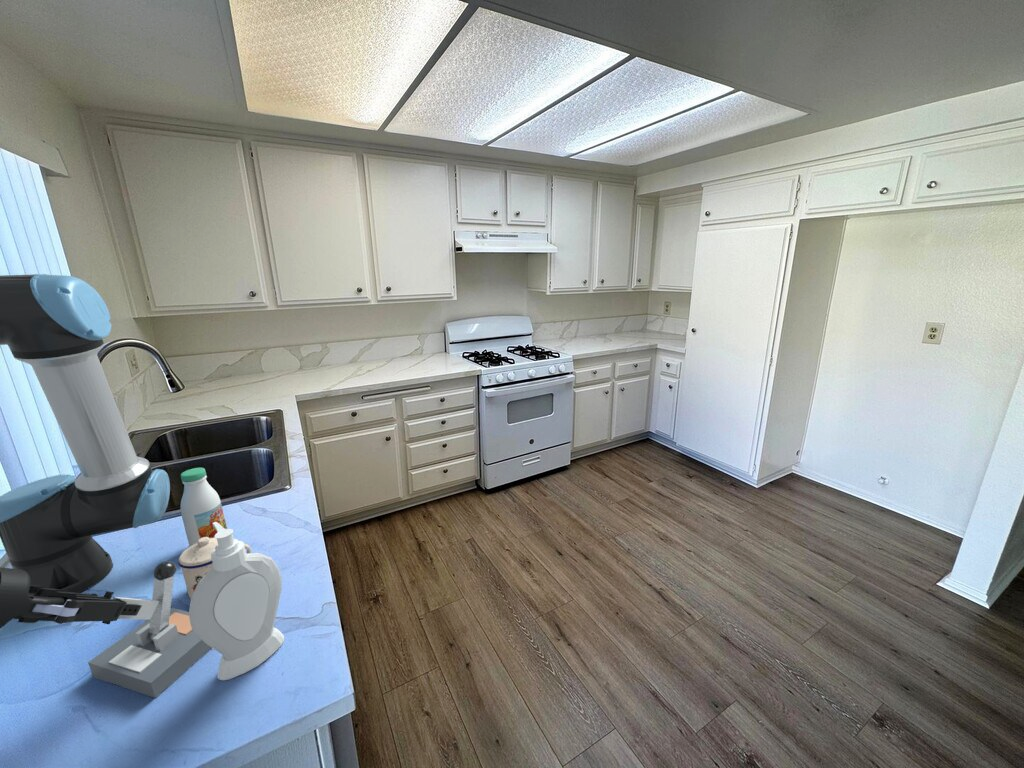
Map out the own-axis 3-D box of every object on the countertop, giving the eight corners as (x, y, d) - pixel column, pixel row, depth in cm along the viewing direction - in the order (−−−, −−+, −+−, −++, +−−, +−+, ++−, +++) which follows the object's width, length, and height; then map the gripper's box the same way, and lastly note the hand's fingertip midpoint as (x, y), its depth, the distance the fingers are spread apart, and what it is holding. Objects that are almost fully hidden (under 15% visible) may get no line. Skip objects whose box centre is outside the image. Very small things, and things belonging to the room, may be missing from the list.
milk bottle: (188, 560, 94) (168, 482, 89) (193, 542, 101) (174, 469, 96) (228, 548, 98) (211, 473, 93) (230, 532, 105) (214, 461, 100)
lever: (153, 647, 67) (163, 566, 68) (140, 644, 68) (150, 563, 69) (173, 638, 70) (181, 560, 71) (160, 634, 71) (168, 557, 72)
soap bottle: (280, 618, 77) (257, 504, 71) (298, 640, 72) (275, 519, 66) (198, 667, 68) (163, 540, 62) (212, 697, 63) (176, 562, 57)
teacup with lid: (191, 611, 80) (177, 560, 77) (184, 587, 86) (171, 539, 83) (260, 579, 88) (250, 532, 85) (249, 560, 94) (240, 515, 91)
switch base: (155, 698, 63) (146, 670, 62) (93, 676, 67) (83, 650, 65) (226, 634, 74) (220, 609, 73) (169, 619, 78) (163, 595, 76)
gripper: (-96, 625, 48) (109, 627, 68) (-29, 648, 45) (167, 643, 64) (-44, 558, 52) (137, 578, 72) (22, 574, 48) (193, 591, 68)
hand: (151, 609), depth 68 cm, fingers closed
